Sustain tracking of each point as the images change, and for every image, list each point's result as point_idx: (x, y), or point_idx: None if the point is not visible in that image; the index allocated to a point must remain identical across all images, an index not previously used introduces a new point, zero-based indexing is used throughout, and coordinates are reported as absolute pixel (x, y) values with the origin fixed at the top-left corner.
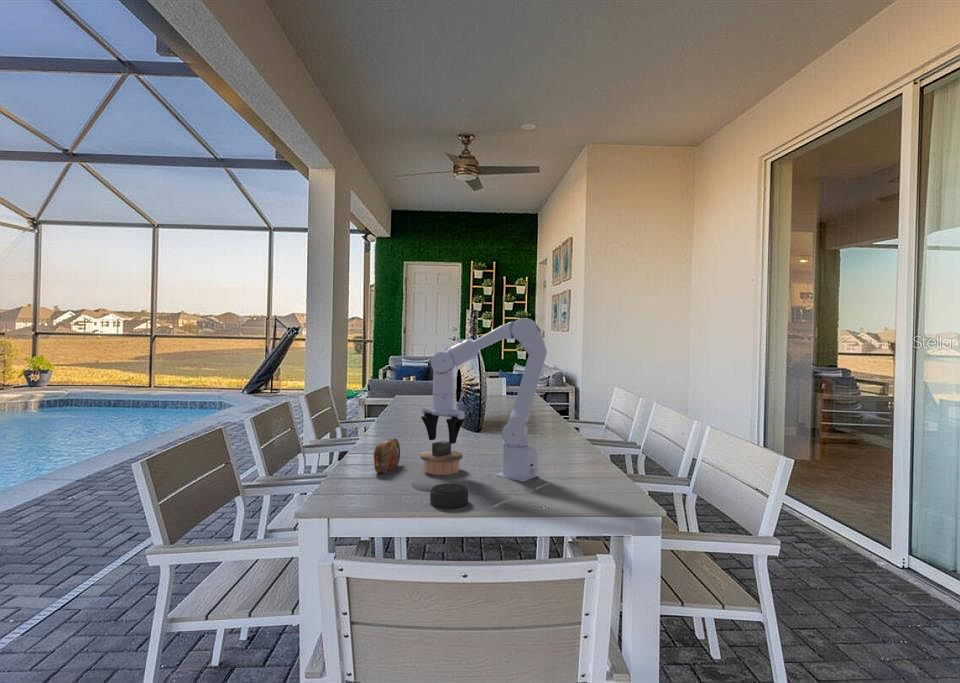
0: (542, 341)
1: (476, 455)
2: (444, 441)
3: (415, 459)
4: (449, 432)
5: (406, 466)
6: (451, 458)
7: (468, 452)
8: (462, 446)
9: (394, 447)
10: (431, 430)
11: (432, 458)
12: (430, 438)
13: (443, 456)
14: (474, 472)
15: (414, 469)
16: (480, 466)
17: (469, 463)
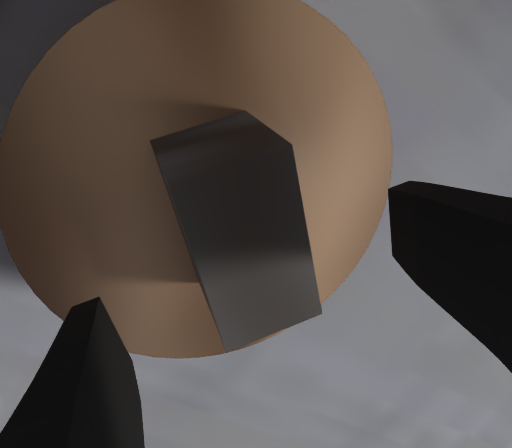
0: None
1: (349, 444)
2: (291, 307)
3: (504, 165)
4: (61, 405)
5: (437, 18)
6: (16, 206)
7: (410, 431)
8: (492, 438)
9: None
10: (478, 256)
11: (116, 28)
12: (401, 190)
13: (139, 179)
14: (44, 325)
15: (344, 16)
16: (160, 400)
17: (250, 373)
